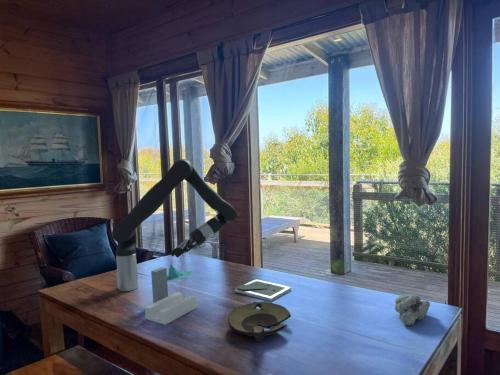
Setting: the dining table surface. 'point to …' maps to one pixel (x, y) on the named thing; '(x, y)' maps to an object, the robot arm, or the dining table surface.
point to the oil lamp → (258, 319)
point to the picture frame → (263, 290)
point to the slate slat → (159, 284)
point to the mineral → (411, 308)
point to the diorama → (177, 273)
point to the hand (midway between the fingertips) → (173, 255)
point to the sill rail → (170, 308)
